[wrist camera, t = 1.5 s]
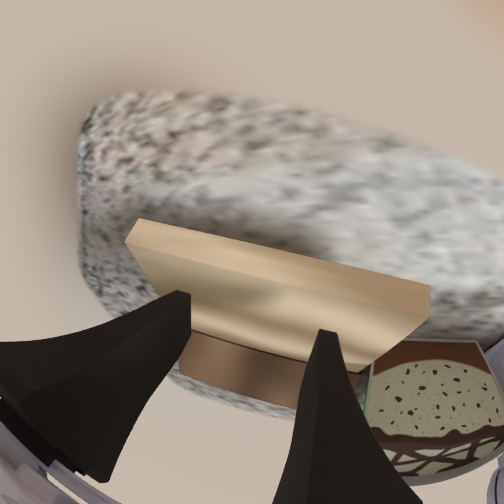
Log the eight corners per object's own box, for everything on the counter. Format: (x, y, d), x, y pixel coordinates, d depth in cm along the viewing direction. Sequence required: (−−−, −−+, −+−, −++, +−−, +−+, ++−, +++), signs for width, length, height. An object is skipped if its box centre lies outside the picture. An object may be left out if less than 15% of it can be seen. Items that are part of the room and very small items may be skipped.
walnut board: (362, 360, 21) (361, 375, 19) (338, 403, 24) (336, 417, 22) (185, 313, 24) (176, 325, 22) (187, 361, 27) (179, 373, 25)
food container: (340, 385, 23) (326, 487, 14) (354, 333, 20) (347, 453, 11) (461, 388, 19) (477, 478, 11) (489, 339, 17) (524, 436, 8)
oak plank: (361, 354, 20) (357, 372, 19) (187, 308, 23) (180, 325, 22) (430, 285, 11) (429, 316, 10) (139, 218, 14) (124, 241, 13)
